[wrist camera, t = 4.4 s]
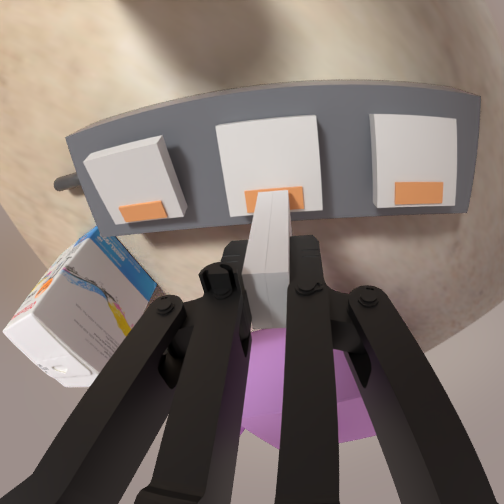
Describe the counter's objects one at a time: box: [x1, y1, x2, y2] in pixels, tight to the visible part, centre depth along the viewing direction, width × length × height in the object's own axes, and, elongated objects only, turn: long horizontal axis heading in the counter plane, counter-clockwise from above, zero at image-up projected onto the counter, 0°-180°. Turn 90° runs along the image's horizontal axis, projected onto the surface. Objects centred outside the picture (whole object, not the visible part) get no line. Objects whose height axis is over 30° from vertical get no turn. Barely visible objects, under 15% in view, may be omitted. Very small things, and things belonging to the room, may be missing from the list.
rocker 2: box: [215, 115, 323, 217], centre depth 15 cm, size 5×5×1 cm
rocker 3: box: [369, 114, 457, 208], centre depth 14 cm, size 5×5×1 cm
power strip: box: [54, 80, 481, 237], centre depth 18 cm, size 8×32×4 cm, turn 98°
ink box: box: [3, 226, 157, 387], centre depth 23 cm, size 9×8×12 cm
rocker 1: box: [83, 135, 187, 225], centre depth 17 cm, size 5×5×1 cm
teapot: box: [240, 328, 376, 449], centre depth 26 cm, size 20×10×12 cm, turn 119°
